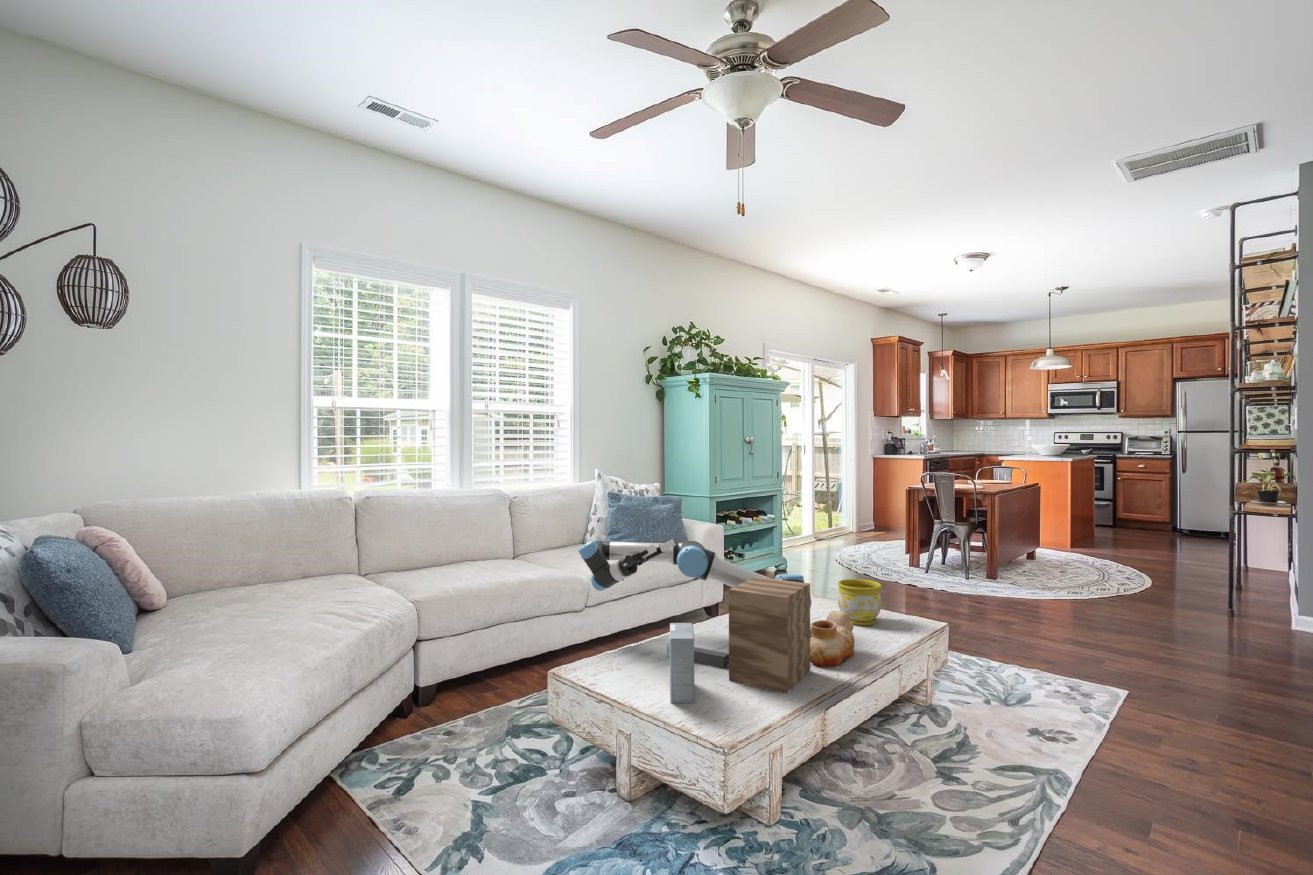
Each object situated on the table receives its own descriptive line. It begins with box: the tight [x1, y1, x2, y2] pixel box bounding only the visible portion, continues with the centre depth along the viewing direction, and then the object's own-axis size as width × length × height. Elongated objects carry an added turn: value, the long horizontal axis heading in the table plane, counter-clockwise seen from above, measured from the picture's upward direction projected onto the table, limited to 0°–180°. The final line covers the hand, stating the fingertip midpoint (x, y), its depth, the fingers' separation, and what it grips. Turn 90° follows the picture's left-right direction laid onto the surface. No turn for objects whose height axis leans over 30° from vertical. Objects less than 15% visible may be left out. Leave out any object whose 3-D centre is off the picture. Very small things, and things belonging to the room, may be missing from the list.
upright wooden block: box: [728, 577, 811, 694], centre depth 218 cm, size 22×20×30 cm
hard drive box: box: [669, 622, 695, 704], centre depth 204 cm, size 16×8×20 cm, turn 178°
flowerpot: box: [837, 578, 882, 627], centre depth 279 cm, size 18×18×16 cm
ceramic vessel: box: [810, 609, 855, 668], centre depth 236 cm, size 14×26×15 cm, turn 142°
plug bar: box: [666, 643, 729, 669], centre depth 233 cm, size 23×4×4 cm, turn 59°
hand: (664, 544), depth 243 cm, fingers open, 13 cm apart
